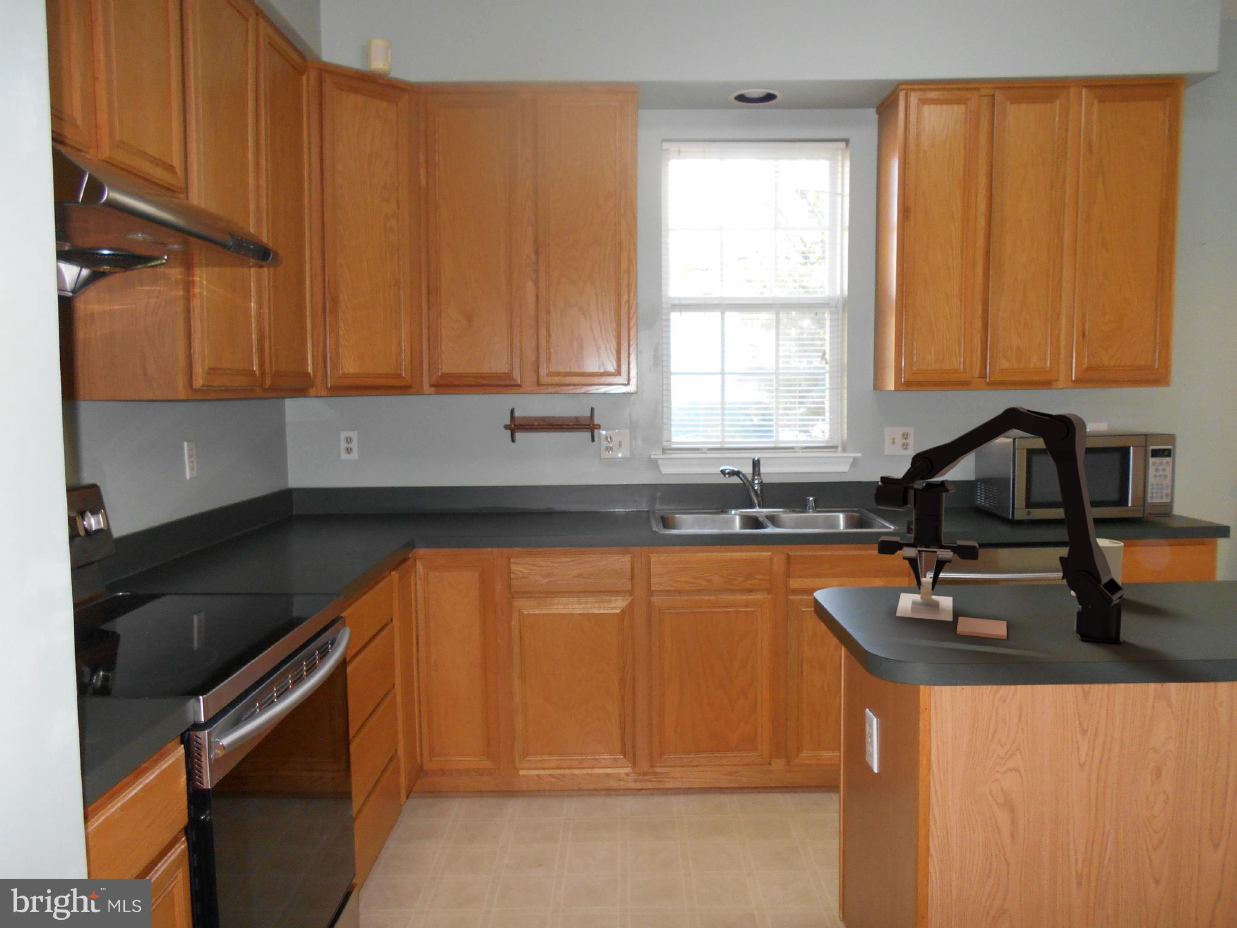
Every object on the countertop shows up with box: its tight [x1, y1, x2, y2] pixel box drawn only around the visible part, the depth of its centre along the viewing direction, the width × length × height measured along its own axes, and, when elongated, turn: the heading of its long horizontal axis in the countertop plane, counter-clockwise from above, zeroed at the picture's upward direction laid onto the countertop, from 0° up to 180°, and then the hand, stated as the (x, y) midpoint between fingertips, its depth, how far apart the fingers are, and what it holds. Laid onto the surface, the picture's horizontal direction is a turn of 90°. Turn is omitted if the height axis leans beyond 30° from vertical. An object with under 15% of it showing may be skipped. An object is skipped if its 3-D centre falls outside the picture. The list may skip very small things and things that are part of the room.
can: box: [1070, 537, 1125, 597], centre depth 178 cm, size 9×9×12 cm
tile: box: [956, 616, 1008, 640], centre depth 153 cm, size 8×2×9 cm
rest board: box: [895, 592, 953, 622], centre depth 169 cm, size 10×18×1 cm, turn 159°
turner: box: [911, 577, 939, 614], centre depth 169 cm, size 13×5×4 cm, turn 159°
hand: (926, 590), depth 171 cm, fingers closed on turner, 2 cm apart
